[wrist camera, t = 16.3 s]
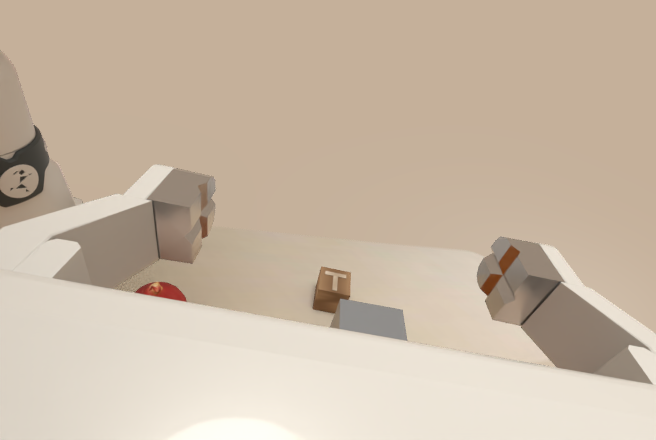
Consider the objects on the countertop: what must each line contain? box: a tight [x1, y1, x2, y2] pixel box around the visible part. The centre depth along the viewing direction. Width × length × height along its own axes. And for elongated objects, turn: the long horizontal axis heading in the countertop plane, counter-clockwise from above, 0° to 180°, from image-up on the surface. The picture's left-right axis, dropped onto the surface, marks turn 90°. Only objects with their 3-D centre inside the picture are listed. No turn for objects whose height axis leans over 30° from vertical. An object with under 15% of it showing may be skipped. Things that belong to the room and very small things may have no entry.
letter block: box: [313, 267, 351, 313], centre depth 45 cm, size 4×4×4 cm
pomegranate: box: [135, 282, 186, 302], centre depth 35 cm, size 6×6×8 cm
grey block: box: [330, 299, 407, 341], centre depth 34 cm, size 6×6×10 cm
